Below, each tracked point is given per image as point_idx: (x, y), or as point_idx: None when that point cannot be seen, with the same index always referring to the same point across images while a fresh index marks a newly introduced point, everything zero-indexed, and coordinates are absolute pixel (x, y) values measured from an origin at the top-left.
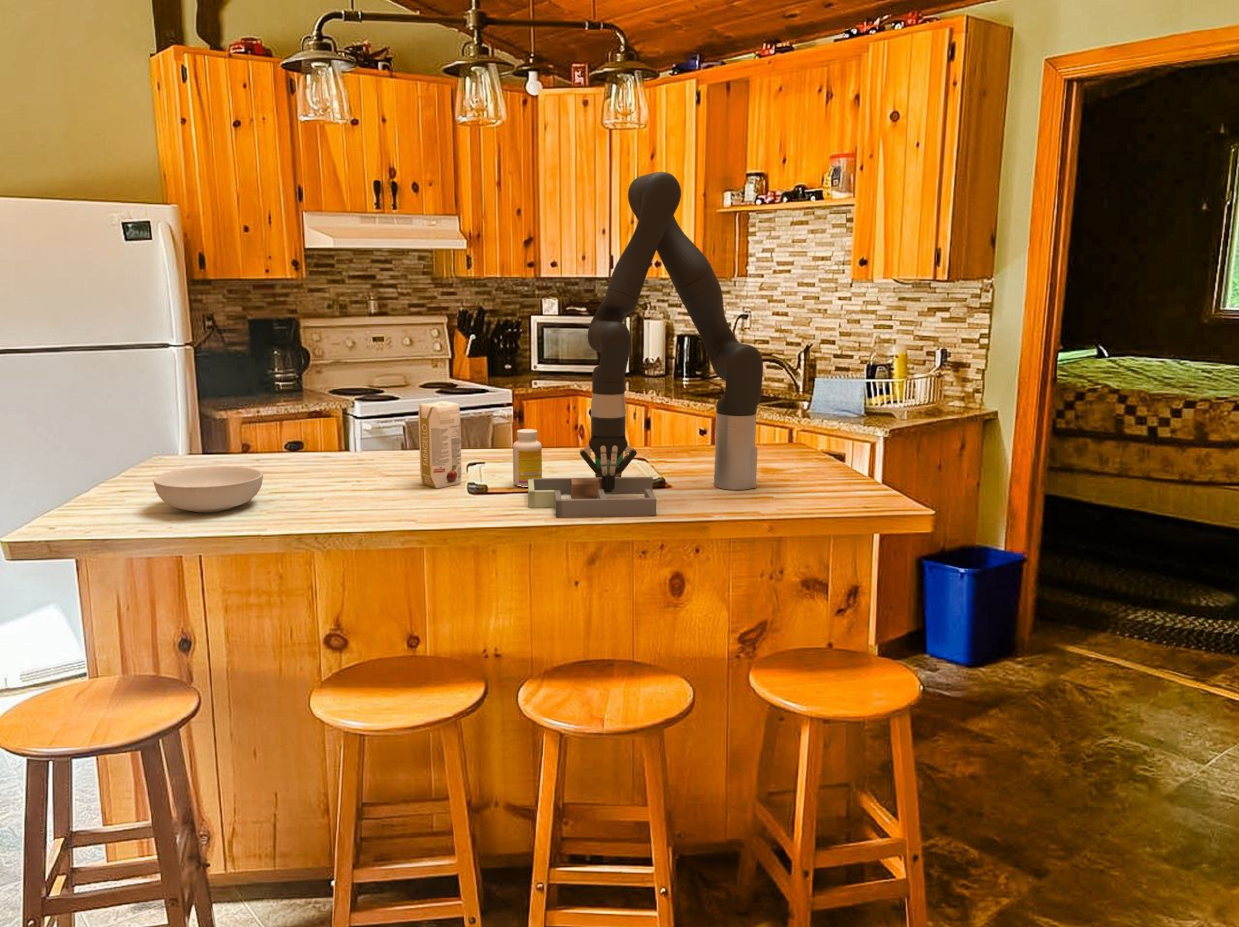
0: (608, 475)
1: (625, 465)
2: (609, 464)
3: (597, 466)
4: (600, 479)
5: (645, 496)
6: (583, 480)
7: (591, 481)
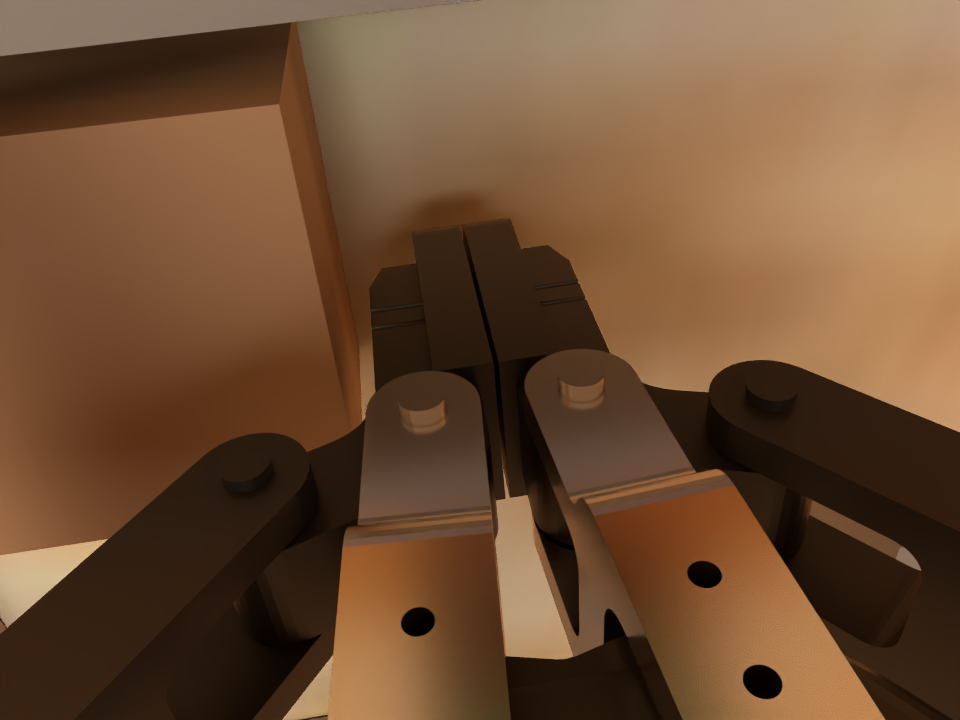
0: (509, 454)
1: (877, 607)
2: (573, 529)
3: (297, 565)
4: (329, 11)
5: (850, 533)
6: (39, 327)
7: (206, 380)
